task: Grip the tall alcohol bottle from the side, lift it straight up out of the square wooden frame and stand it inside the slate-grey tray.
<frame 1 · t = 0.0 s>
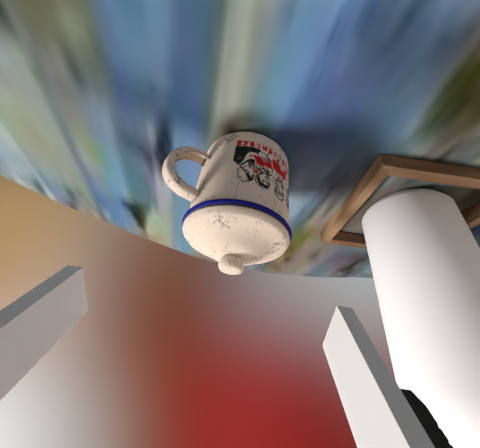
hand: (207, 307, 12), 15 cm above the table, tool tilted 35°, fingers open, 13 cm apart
alcohol: (402, 209, 26), resting in square wooden frame
teacup with lid: (236, 157, 23), on the table
square wooden frame: (402, 211, 26), on the table
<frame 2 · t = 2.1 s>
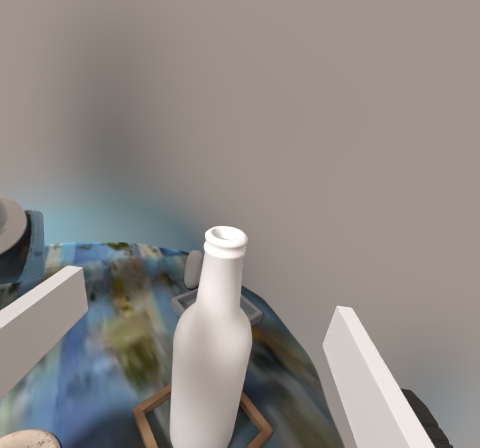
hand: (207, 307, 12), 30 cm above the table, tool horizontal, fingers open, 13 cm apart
alcohol: (202, 426, 31), resting in square wooden frame
donut: (192, 285, 60), on the table
square wooden frame: (202, 425, 31), on the table
tray: (215, 314, 51), on the table
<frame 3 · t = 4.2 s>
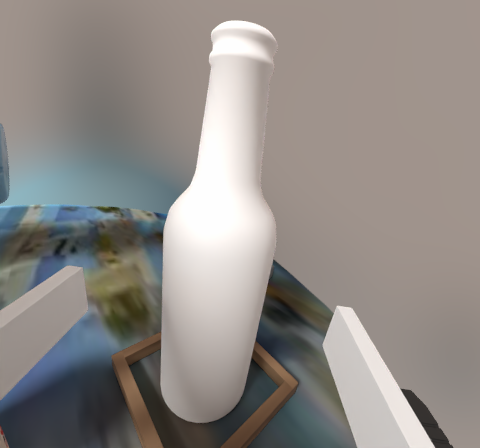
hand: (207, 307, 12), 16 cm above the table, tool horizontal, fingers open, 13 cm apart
alcohol: (203, 380, 24), resting in square wooden frame
square wooden frame: (203, 378, 24), on the table
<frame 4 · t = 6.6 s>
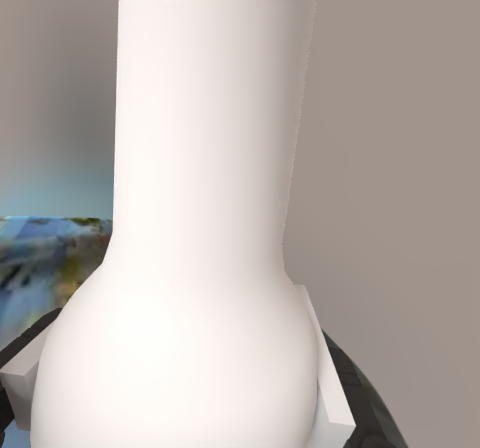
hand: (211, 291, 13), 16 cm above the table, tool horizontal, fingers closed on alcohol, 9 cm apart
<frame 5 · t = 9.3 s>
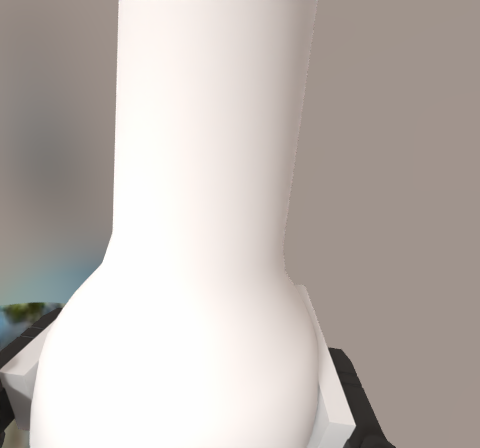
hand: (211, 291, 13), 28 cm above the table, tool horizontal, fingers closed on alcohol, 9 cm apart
when the fingers open (18 cm above the table, at t = 12.0 s): alcohol drops 1 cm, resting on tray.
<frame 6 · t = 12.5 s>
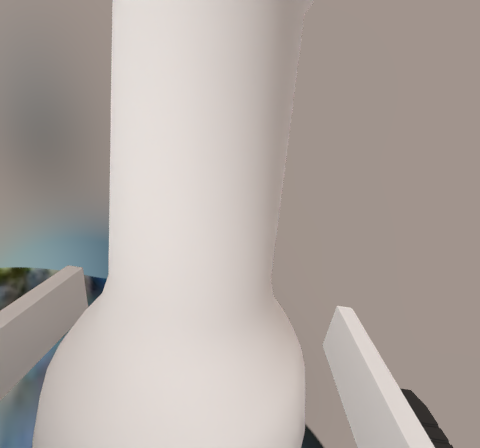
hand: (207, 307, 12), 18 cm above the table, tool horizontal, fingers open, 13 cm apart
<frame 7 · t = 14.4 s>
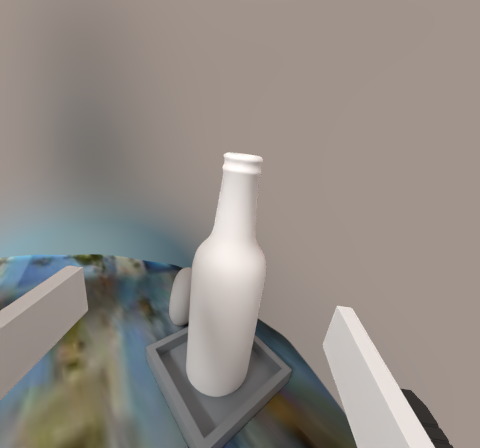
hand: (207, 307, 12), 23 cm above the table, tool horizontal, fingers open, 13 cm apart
alcohol: (216, 369, 32), resting on tray
donut: (183, 318, 41), on the table
tray: (216, 370, 33), on the table
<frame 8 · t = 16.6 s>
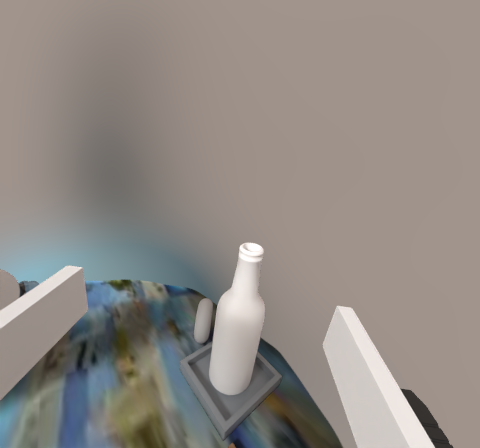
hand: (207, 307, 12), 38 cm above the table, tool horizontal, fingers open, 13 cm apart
alcohol: (229, 375, 46), resting on tray
donut: (202, 336, 55), on the table
tray: (229, 376, 46), on the table
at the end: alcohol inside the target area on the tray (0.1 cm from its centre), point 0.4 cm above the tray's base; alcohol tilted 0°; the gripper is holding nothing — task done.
